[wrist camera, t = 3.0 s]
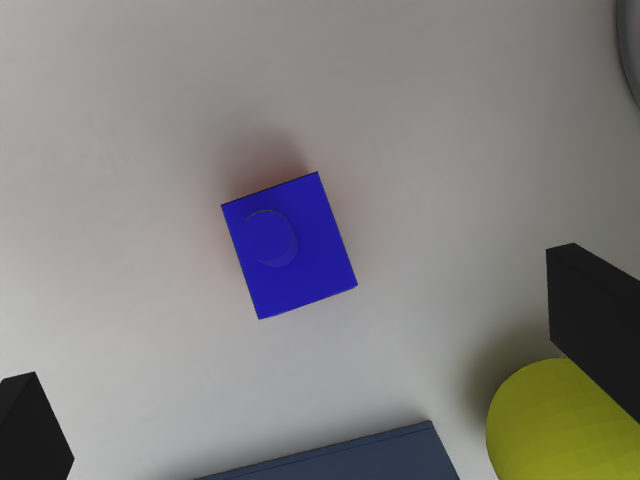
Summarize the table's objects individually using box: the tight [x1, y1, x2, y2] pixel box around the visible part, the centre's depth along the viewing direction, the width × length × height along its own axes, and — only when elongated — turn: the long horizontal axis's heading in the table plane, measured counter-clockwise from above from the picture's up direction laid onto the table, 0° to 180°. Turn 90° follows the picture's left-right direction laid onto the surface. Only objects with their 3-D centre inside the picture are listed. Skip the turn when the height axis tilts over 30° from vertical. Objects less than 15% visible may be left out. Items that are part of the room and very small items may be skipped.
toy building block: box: [221, 171, 358, 320], centre depth 20 cm, size 4×4×8 cm
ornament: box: [486, 358, 640, 480], centre depth 22 cm, size 7×7×10 cm
